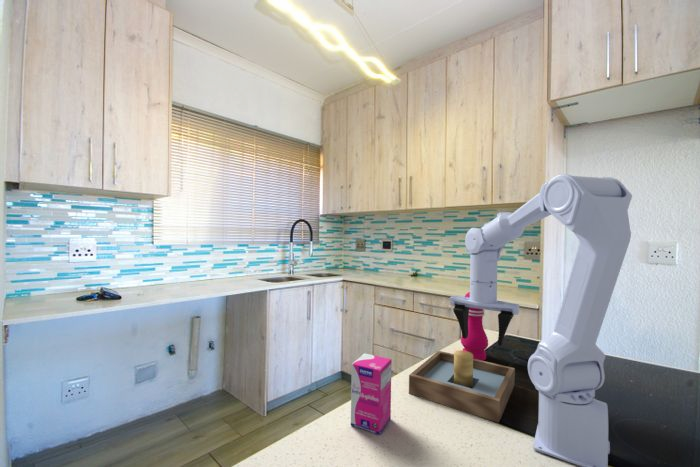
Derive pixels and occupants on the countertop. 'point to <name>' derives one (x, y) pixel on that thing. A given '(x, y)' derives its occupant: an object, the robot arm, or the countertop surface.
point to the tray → (460, 396)
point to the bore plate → (481, 379)
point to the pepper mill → (475, 334)
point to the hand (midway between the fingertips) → (482, 340)
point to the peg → (463, 368)
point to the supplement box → (371, 393)
